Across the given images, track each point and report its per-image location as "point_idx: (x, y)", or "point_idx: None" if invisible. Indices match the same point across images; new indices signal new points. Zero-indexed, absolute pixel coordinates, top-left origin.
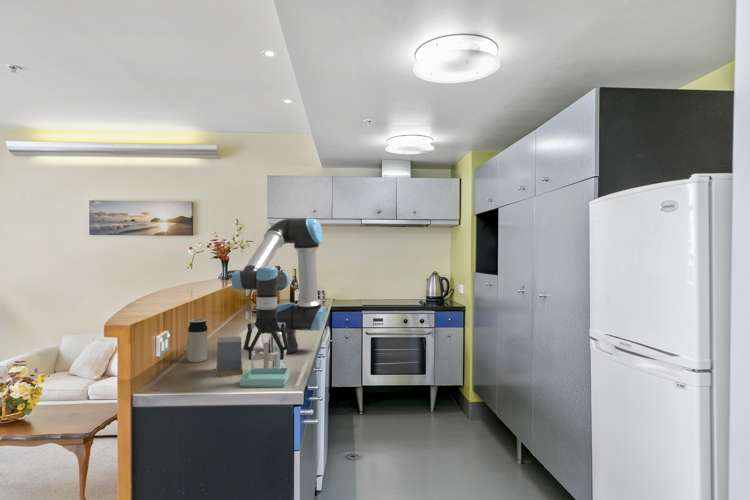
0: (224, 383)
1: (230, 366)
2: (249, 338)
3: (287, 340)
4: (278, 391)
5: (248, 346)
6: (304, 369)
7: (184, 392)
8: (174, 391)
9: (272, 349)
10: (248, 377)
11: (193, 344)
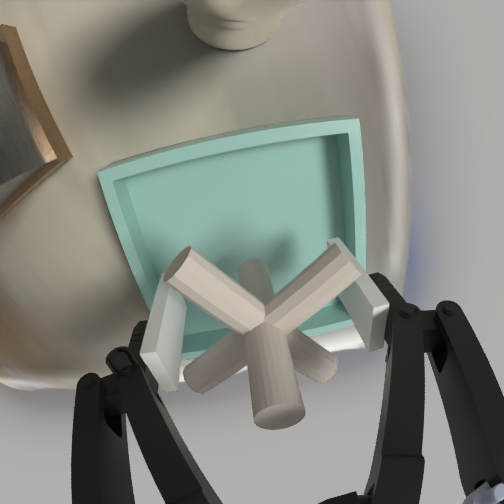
0: (84, 296)
1: (5, 197)
2: (123, 476)
3: (479, 349)
4: (336, 341)
5: (108, 396)
6: (381, 7)
7: (55, 376)
8: (29, 369)
9: (200, 9)
10: (143, 235)
11: None
